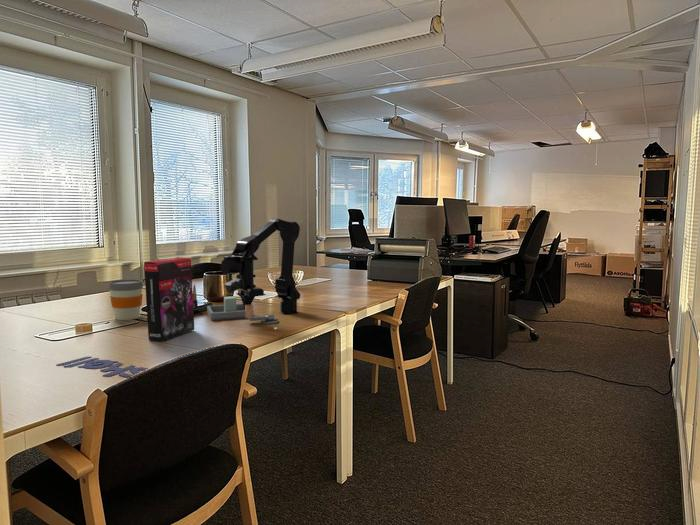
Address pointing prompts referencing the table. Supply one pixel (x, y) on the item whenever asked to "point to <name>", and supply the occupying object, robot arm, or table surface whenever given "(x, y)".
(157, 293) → the graphics card box
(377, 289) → the table surface
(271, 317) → the crank
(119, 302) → the reusable coffee cup
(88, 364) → the signage
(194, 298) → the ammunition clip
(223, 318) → the tray
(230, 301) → the block
